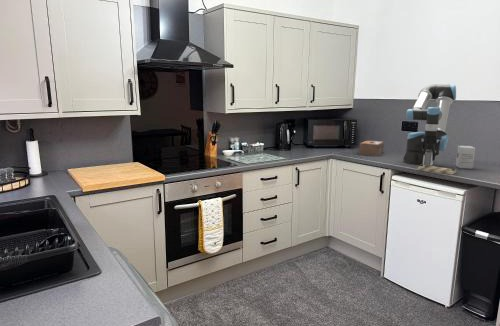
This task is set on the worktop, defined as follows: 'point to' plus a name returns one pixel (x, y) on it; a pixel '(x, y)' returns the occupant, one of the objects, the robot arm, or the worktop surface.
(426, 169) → the tan flat oblong piece
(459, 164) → the supplement box
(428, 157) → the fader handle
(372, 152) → the tissue box cover
